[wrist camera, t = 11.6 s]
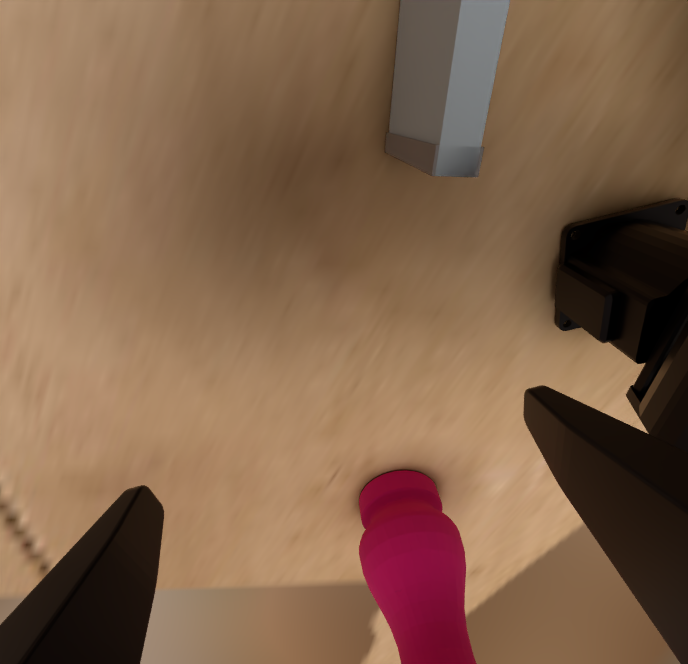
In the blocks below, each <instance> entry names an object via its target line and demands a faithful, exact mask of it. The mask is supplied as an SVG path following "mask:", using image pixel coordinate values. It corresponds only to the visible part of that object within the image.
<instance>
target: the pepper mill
mask: <svg viewBox="0 0 688 664" xmlns="http://www.w3.org/2000/svg"><path fill="white" fill-rule="evenodd" d="M359 506H360V513H361V520H362V524H363V526H364V528H365V529H366V530H365V532H364V533H363V535H362V538H361V541H360V546H359V556H360V561H361V565H362V570H363V574H364V577H365V579H366V582H367V584H368V587H369V589H370V591H371V593H372V595H373V597H374V598H375V600H376V602H377V604H378V606H379V607H380V609H381V611H382V613H383V614H384V616H385V618H386V620H387V622H388V624H389V626H390V628H391V631H392V633H393V636H394V639H395V641H396V644H397V647H398V651H399V655H400V659H401V664H476V661H475V659H474V656H473V652H472V648H471V644H470V640H469V636H468V632H467V627H466V619H465V610H464V598H465V577H466V562H465V551H464V547H463V544H462V540H461V537H460V533H459V530H458V529H457V527H456V525H455V524H454V523H453V521H452V520H451V519H450V518H449V517H448V516H447V515H445V514H444V513H442V503H441V500H440V497H439V494H438V491H437V489H436V486H435V484H434V482H433V481H432V480H431V479H430V478H428V477H427V476H426V475H424V474H422V473H419V472H416V471H408V470H403V471H393V472H390V473H386V474H383V475H381V476H379V477H377V478H375V479H373V480H372V481H371V482H370V483H369V484H367V485H366V486H365V488H364V489H363V491H362V493H361V495H360V498H359Z"/></svg>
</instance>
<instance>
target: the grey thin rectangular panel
mask: <svg viewBox="0 0 688 664" xmlns="http://www.w3.org/2000/svg"><path fill="white" fill-rule="evenodd" d="M509 3H510V0H400V11H399V23H398V34H397V45H396V56H395V68H394V79H393V90H392V101H391V112H390V124H389V133H386V144H385V153H387V154H389V155H391V156H393V157H395V158H397V159H399V160H401V161H403V162H405V163H407V164H409V165H411V166H413V167H415V168H417V169H419V170H421V171H423V172H425V173H427V174H429V175H431V176H451V177H478V175H479V170H480V166H481V161H482V156H483V151H484V147H481V144H482V139H483V134H484V129H485V124H486V119H487V114H488V109H489V104H490V99H491V93H492V88H493V83H494V78H495V73H496V68H497V63H498V58H499V53H500V48H501V43H502V38H503V33H504V28H505V23H506V18H507V13H508V8H509Z"/></svg>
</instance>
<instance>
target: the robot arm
mask: <svg viewBox="0 0 688 664" xmlns="http://www.w3.org/2000/svg"><path fill="white" fill-rule="evenodd" d="M678 207H679V208H678ZM677 208H678V210H677V211H676V209H677ZM687 219H688V201H687V200H684V199H680V198H678V199H672V200H668V201H664V202H660V203H656V204H652V205H648V206H644V207H640V208H635V209H631V210H627V211H623V212H619V213H615V214H611V215H607V216H603V217H599V218H594V219H590V220H586V221H582V222H578V223H574V224H571V225H568V226H567V227H566V228H565V229H564V231H563V233H562V240H561V253H560V266H559V267H558V270H557V283H556V297H555V307H556V320H555V324H556V326H557V327H558V328H559V329H560V330H562V331H568V330H572V329H576V328H581V327H582V328H583V329H584V330H586V331H587V332H588V333H589V334H591V335H592V336H593V337H595V338H596V339H597V340H598V341H600V342H602V343H607V342H609V343H611V344H612V345H613V346H615V347H616V348H617V349H619V350H620V351H621V352H623V353H624V354H625V355H626V356H628V357H629V358H630V359H632V360H633V361H634V362H636V363H637V364H642V363H645V365H644V367H643V369H642V371H641V373H640V374H639V376H638V378H637V380H636V382H635V384H634V385H631V386H630V388H629V390H628V392H627V394H626V397H627V398H628V400H629V402H630V403H631V405H632V407H633V408H634V410H635V412H636V413H637V415H638V417H639V418H640V420H641V422H642V423H643V425H644V427H645V428H646V430H647V432H648V433H649V434H647V433H645V432H643V431H641V430H639V429H637V428H635V427H632V426H630V425H628V424H626V423H624V422H622V421H620V420H617V419H615V418H613V417H611V416H609V415H607V414H605V413H602V412H600V411H598V410H596V409H594V408H592V407H590V406H587V405H585V404H583V403H581V402H579V401H577V400H575V399H573V398H570V397H568V396H566V395H564V394H562V393H560V392H558V391H555V390H553V389H551V388H549V387H547V386H537V387H533V388H529V389H527V390H526V391H525V394H524V420H525V423H526V425H527V427H528V429H529V431H530V433H531V435H532V436H533V438H534V440H535V442H536V444H537V446H538V448H539V449H540V451H541V453H542V455H543V457H544V459H545V461H546V462H547V464H548V466H549V468H550V470H551V472H552V474H553V475H554V477H555V479H556V481H557V482H558V484H559V486H560V487H561V489H562V490H563V492H564V493H565V495H566V496H567V498H568V499H569V501H570V502H571V504H572V505H573V507H574V508H575V510H576V511H577V513H578V514H579V515H580V517H581V518H582V520H583V521H584V523H585V524H586V526H587V527H588V529H589V530H590V532H591V533H592V535H593V536H594V537H595V539H596V540H597V542H598V543H599V545H600V546H601V548H602V549H603V551H604V552H605V554H606V555H607V556H608V558H609V559H610V561H611V562H612V564H613V565H614V567H615V568H616V569H617V571H618V573H619V574H620V576H621V577H622V578H623V580H624V581H625V583H626V584H627V586H628V587H629V589H630V590H631V591H632V593H633V594H634V596H635V598H636V599H637V600H638V602H639V603H640V605H641V606H642V608H643V609H644V611H645V612H646V614H647V615H648V617H649V618H650V619H651V621H652V622H653V624H654V625H655V627H656V628H657V630H658V631H659V632H660V634H661V635H662V637H663V639H664V640H665V641H666V643H667V644H668V646H669V647H670V649H671V650H672V652H673V653H674V655H675V656H676V658H677V659H678V660H679V662H680V663H681V664H688V231H685V227H686V223H687ZM574 231H576V233H575V235H574V236H573V237H571V234H572V233H573V232H574ZM565 321H567V322H566V323H565V324H564V322H565ZM163 521H164V509H163V506H162V504H161V503H160V502H159V500H158V499H157V498H156V496H155V495H154V494H153V493H152V491H151V490H150V489H149V488H148V487H147V486H145V485H141V486H137V487H134V488H130V489H127V490H126V491H124V492H123V493H122V494H121V496H120V497H119V498H118V499H117V500H116V501H115V502H114V503H113V504H112V505H111V506H110V507H109V508H108V510H107V511H106V512H105V513H104V514H103V515H102V516H101V517H100V518H99V519H98V520H97V521H96V522H95V524H94V525H93V526H92V527H91V528H90V529H89V530H88V531H87V532H86V533H85V534H84V535H83V536H82V538H81V539H80V540H79V541H78V542H77V543H76V544H75V545H74V546H73V547H72V548H71V549H70V550H69V552H68V553H67V554H66V555H65V556H64V557H63V558H62V559H61V560H60V561H59V562H58V563H57V564H56V566H55V567H54V568H53V569H52V570H51V571H50V572H49V573H48V574H47V575H46V576H45V577H44V578H43V579H42V581H41V582H40V583H39V584H38V585H37V586H36V587H35V588H34V589H33V590H32V591H31V592H30V593H29V595H28V596H27V597H26V598H25V599H24V600H23V601H22V602H21V603H20V604H19V605H18V606H17V608H16V609H15V610H14V611H13V612H12V613H11V614H10V615H9V616H8V617H7V618H6V619H5V620H4V621H3V622H2V624H1V625H0V664H140V661H141V656H142V651H143V647H144V641H145V637H146V632H147V627H148V623H149V618H150V613H151V608H152V603H153V599H154V594H155V588H156V583H157V576H158V567H159V558H160V549H161V540H162V530H163Z"/></svg>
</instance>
